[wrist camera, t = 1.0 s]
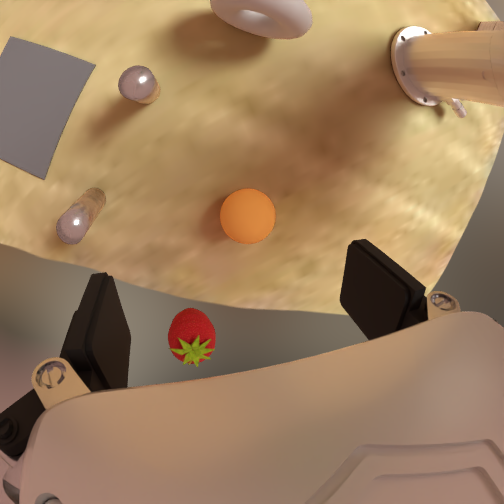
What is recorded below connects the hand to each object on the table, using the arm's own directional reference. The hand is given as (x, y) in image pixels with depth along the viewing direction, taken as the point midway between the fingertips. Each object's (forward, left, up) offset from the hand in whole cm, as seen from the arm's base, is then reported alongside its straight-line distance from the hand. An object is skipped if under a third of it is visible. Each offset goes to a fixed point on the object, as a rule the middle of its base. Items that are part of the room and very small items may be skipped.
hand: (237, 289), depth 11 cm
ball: (-7, +1, -20) cm, 21 cm away
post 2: (+9, -5, -23) cm, 26 cm away
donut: (+4, -18, -24) cm, 30 cm away
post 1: (+9, +8, -23) cm, 26 cm away
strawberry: (-8, +17, -24) cm, 30 cm away
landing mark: (+23, +1, -23) cm, 33 cm away
